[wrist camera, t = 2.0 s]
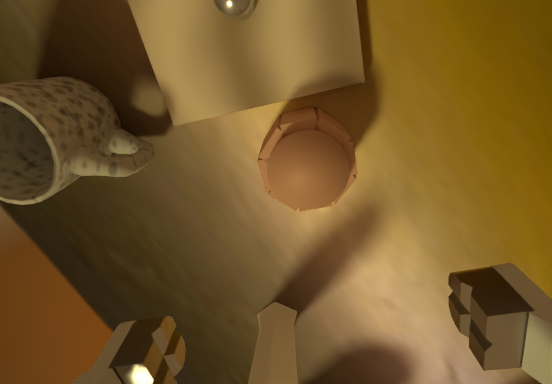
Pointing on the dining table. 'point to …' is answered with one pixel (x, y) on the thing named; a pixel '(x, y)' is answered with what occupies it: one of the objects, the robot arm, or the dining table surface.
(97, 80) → the dining table surface
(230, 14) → the stud
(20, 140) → the mug
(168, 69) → the board
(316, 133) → the cap
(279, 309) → the perfume bottle
